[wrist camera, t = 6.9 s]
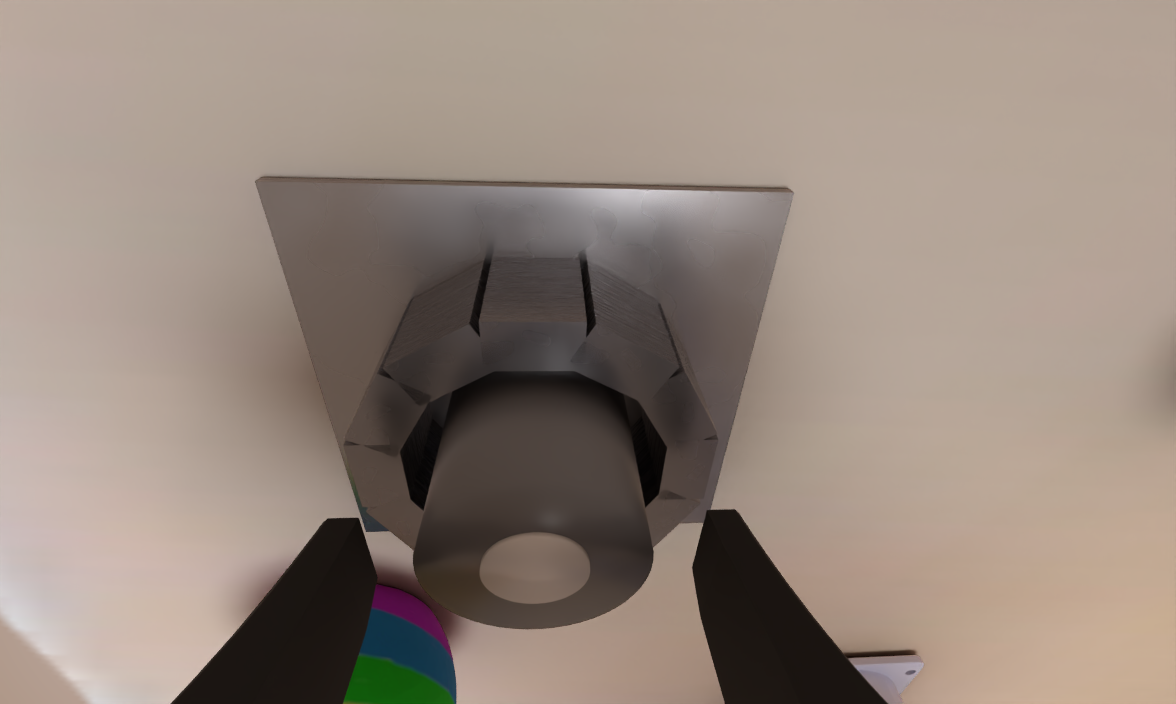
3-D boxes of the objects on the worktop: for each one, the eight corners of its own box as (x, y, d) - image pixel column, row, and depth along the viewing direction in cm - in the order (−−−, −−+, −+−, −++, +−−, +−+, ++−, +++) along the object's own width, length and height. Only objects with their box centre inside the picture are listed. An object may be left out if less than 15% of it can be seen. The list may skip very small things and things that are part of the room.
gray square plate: (704, 515, 19) (730, 601, 16) (368, 524, 18) (337, 617, 16) (788, 188, 12) (856, 243, 10) (261, 177, 12) (173, 234, 9)
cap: (618, 450, 17) (645, 629, 12) (465, 456, 16) (432, 641, 12) (626, 321, 14) (665, 486, 9) (442, 325, 14) (388, 498, 9)
